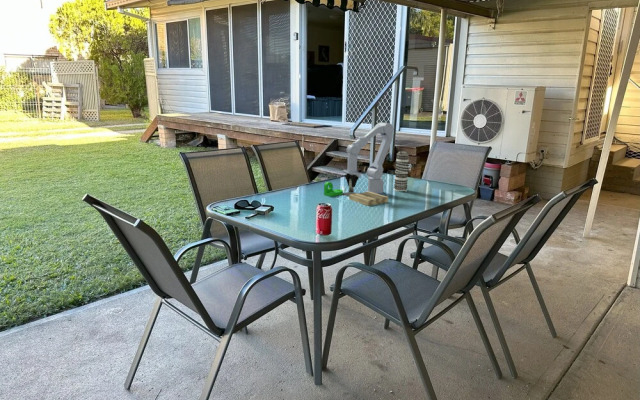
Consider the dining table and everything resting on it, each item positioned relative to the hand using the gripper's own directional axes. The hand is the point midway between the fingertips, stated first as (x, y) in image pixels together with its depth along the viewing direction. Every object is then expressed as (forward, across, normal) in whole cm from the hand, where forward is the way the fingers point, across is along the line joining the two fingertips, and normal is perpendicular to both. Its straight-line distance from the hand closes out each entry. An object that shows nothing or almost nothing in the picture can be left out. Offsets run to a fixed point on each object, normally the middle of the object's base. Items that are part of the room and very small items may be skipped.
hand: (351, 186), depth 263 cm
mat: (+5, 0, 0) cm, 5 cm away
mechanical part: (+5, -5, -9) cm, 12 cm away
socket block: (+5, +17, -1) cm, 18 cm away
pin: (+3, 0, 0) cm, 3 cm away
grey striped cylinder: (+6, +7, +36) cm, 37 cm away
